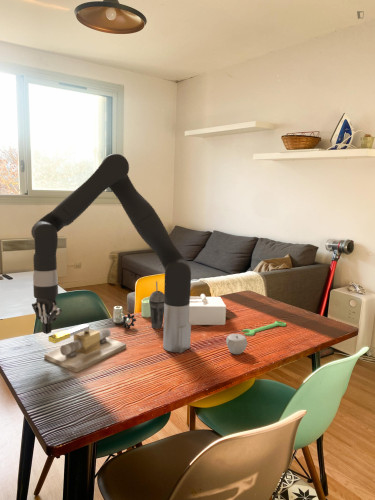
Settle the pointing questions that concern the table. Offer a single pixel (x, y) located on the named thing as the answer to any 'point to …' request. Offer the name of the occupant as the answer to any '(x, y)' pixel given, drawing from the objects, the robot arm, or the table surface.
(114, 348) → the pipe board
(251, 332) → the wrench
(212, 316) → the tissue box
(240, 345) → the apple
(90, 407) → the table surface
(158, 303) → the beverage cup
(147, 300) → the candle
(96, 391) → the table surface
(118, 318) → the valve
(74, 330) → the valve lever
